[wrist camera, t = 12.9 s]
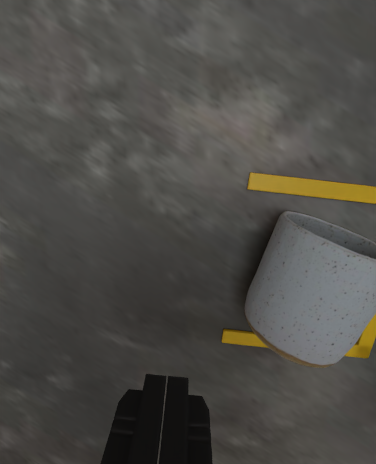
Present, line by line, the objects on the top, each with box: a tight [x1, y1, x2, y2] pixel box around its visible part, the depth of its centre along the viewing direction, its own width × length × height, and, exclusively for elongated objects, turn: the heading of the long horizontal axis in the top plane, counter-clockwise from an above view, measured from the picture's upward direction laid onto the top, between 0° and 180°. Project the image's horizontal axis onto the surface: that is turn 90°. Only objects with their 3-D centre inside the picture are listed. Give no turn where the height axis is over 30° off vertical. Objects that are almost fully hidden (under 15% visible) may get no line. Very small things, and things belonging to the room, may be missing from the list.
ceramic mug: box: [245, 211, 376, 368], centre depth 19 cm, size 11×8×8 cm
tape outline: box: [221, 172, 376, 358], centre depth 23 cm, size 13×14×1 cm
